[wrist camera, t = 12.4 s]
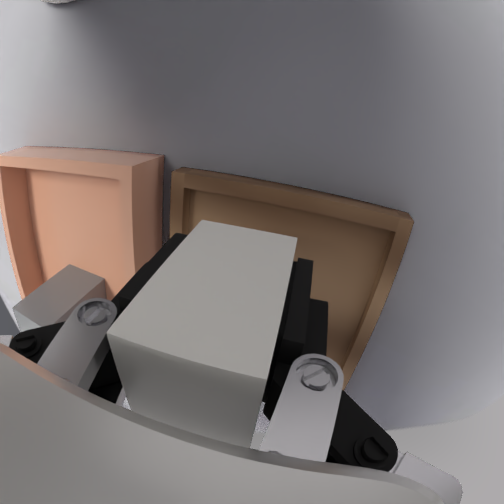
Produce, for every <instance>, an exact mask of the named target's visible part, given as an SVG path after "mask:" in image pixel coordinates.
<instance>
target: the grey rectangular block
mask: <svg viewBox="0 0 504 504" xmlns="http://www.w3.org/2000/svg"><path fill="white" fill-rule="evenodd" d="M92 298H104V299H107V297H106V288H105V278H102V277H100V276H97V275H95V274H93V273H90V272H88V271H85V270H83V269H80V268H78V267H76V266H73V265H71V264H69V265H67V266H66V267H65V268H63V269H62V270H61V271H59V272H58V273H57V274H55V275H54V276H53V277H51V278H50V279H49V280H47V281H46V282H45V283H43V284H42V285H41V286H39V287H38V288H37V289H35V290H34V291H33V292H32V293H30V294H29V295H28V296H26V297H25V298H24V299H23V300H21V301H20V302H19V303H18V304H17V305H15V306H14V307H13V311H14V314H15V317H16V320H17V323H18V326H19V329H20V331H21V332H23V331H26V330H30V329H34V328H38V327H43V326H47V325H51V324H56V323H60V322H64V321H66V320H67V319H68V318H69V316H70V315H71V313H72V312H73V311H74V309H75V308H76V307H77V306H78V305H79V304H80V303H82V302H84V301H85V300H88V299H92Z"/></svg>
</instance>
